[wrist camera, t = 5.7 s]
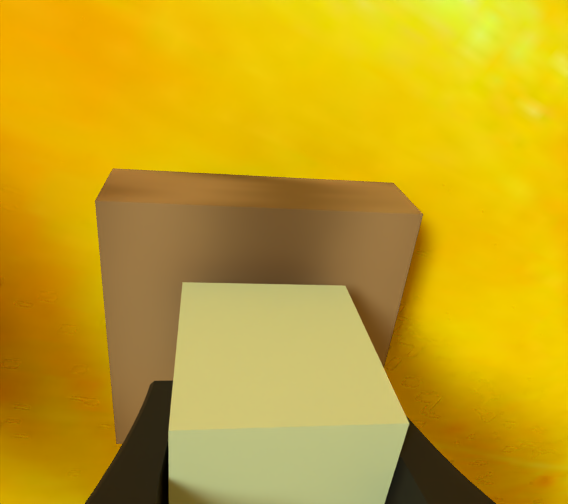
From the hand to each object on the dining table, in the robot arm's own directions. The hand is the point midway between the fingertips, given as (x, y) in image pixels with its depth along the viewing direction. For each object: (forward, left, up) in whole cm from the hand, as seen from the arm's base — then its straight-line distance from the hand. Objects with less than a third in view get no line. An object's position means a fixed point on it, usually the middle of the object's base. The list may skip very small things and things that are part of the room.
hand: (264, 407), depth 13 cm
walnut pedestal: (0, 0, -6) cm, 6 cm away
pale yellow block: (0, 0, -2) cm, 2 cm away
